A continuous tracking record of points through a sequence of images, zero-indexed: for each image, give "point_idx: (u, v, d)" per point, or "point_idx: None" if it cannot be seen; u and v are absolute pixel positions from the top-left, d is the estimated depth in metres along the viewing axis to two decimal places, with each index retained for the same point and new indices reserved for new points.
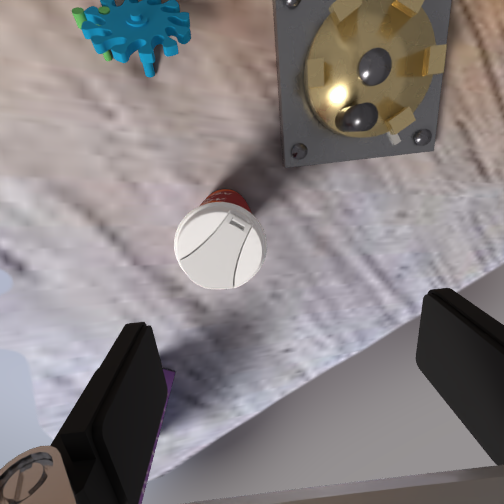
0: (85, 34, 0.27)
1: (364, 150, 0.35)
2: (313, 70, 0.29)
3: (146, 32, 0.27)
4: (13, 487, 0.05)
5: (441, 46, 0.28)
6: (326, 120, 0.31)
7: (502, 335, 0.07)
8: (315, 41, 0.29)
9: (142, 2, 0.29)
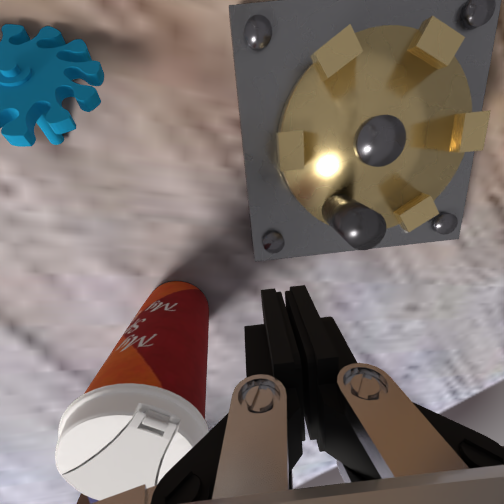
0: None
1: None
2: (287, 147, 0.19)
3: (23, 96, 0.17)
4: (253, 401, 0.06)
5: (482, 113, 0.19)
6: (309, 210, 0.22)
7: (311, 325, 0.08)
8: (291, 103, 0.19)
9: (29, 43, 0.19)
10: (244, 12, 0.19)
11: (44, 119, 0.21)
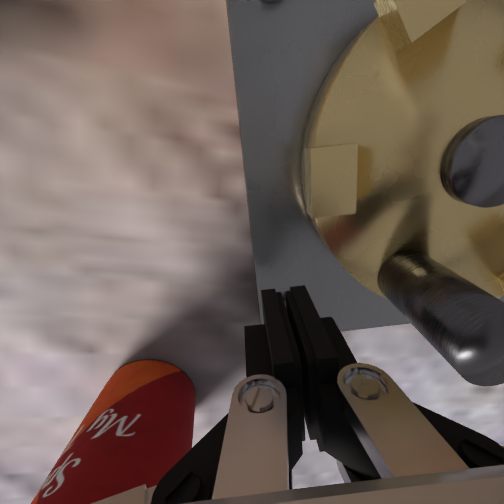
0: None
1: None
2: (327, 176, 0.10)
3: None
4: (253, 401, 0.06)
5: None
6: (356, 277, 0.13)
7: (311, 325, 0.08)
8: (333, 94, 0.10)
9: None
10: None
11: None
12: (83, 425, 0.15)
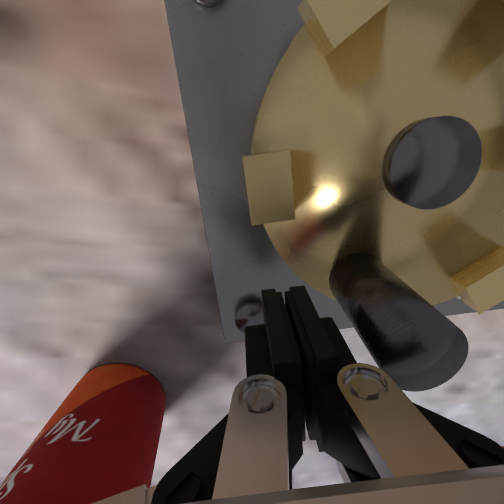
0: None
1: None
2: (262, 183, 0.10)
3: None
4: (253, 401, 0.06)
5: None
6: (307, 281, 0.13)
7: (310, 325, 0.08)
8: (266, 102, 0.10)
9: None
10: None
11: None
12: (43, 430, 0.15)
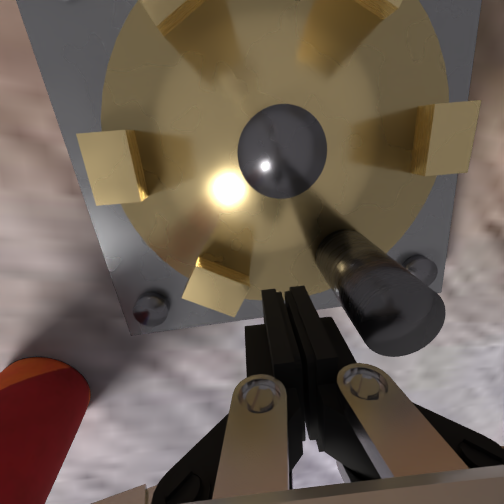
0: None
1: None
2: (208, 295, 0.12)
3: None
4: (254, 401, 0.06)
5: None
6: (315, 292, 0.14)
7: (310, 325, 0.08)
8: (157, 251, 0.12)
9: None
10: None
11: None
12: None
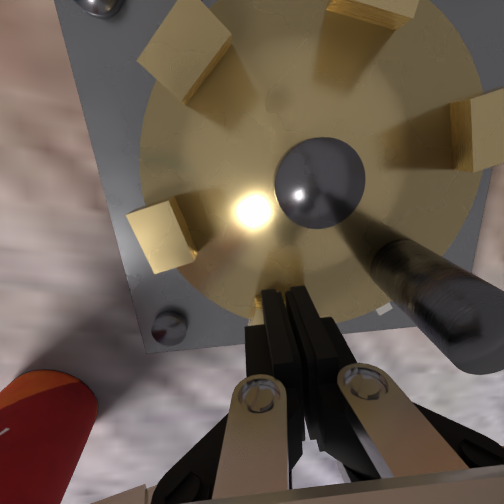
0: None
1: None
2: None
3: None
4: (253, 401, 0.06)
5: None
6: (376, 306, 0.13)
7: (311, 325, 0.08)
8: (215, 300, 0.13)
9: None
10: None
11: None
12: None
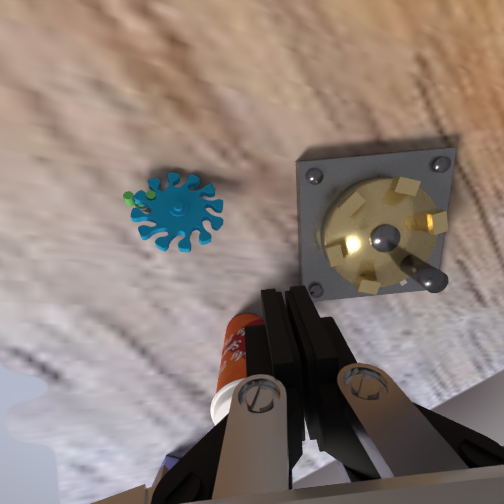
0: (133, 219, 0.31)
1: None
2: (366, 288, 0.35)
3: (186, 223, 0.32)
4: (253, 401, 0.06)
5: (399, 181, 0.31)
6: (402, 279, 0.36)
7: (311, 325, 0.08)
8: (344, 277, 0.35)
9: (184, 186, 0.33)
10: (307, 165, 0.33)
11: None
12: (232, 334, 0.38)
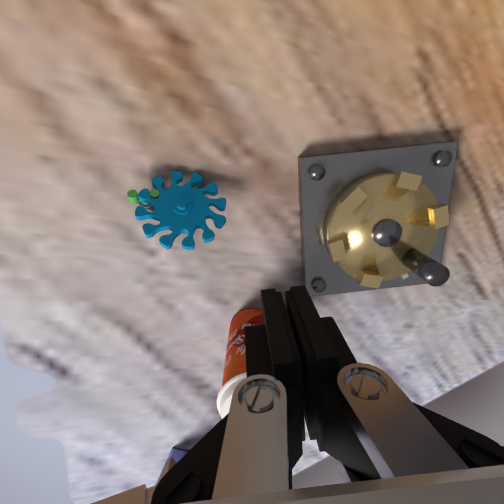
0: (137, 217, 0.32)
1: None
2: (368, 282, 0.35)
3: (189, 221, 0.32)
4: (253, 401, 0.06)
5: (401, 176, 0.31)
6: (404, 273, 0.36)
7: (311, 325, 0.08)
8: (347, 271, 0.36)
9: (187, 185, 0.34)
10: (309, 161, 0.33)
11: None
12: (236, 329, 0.38)
